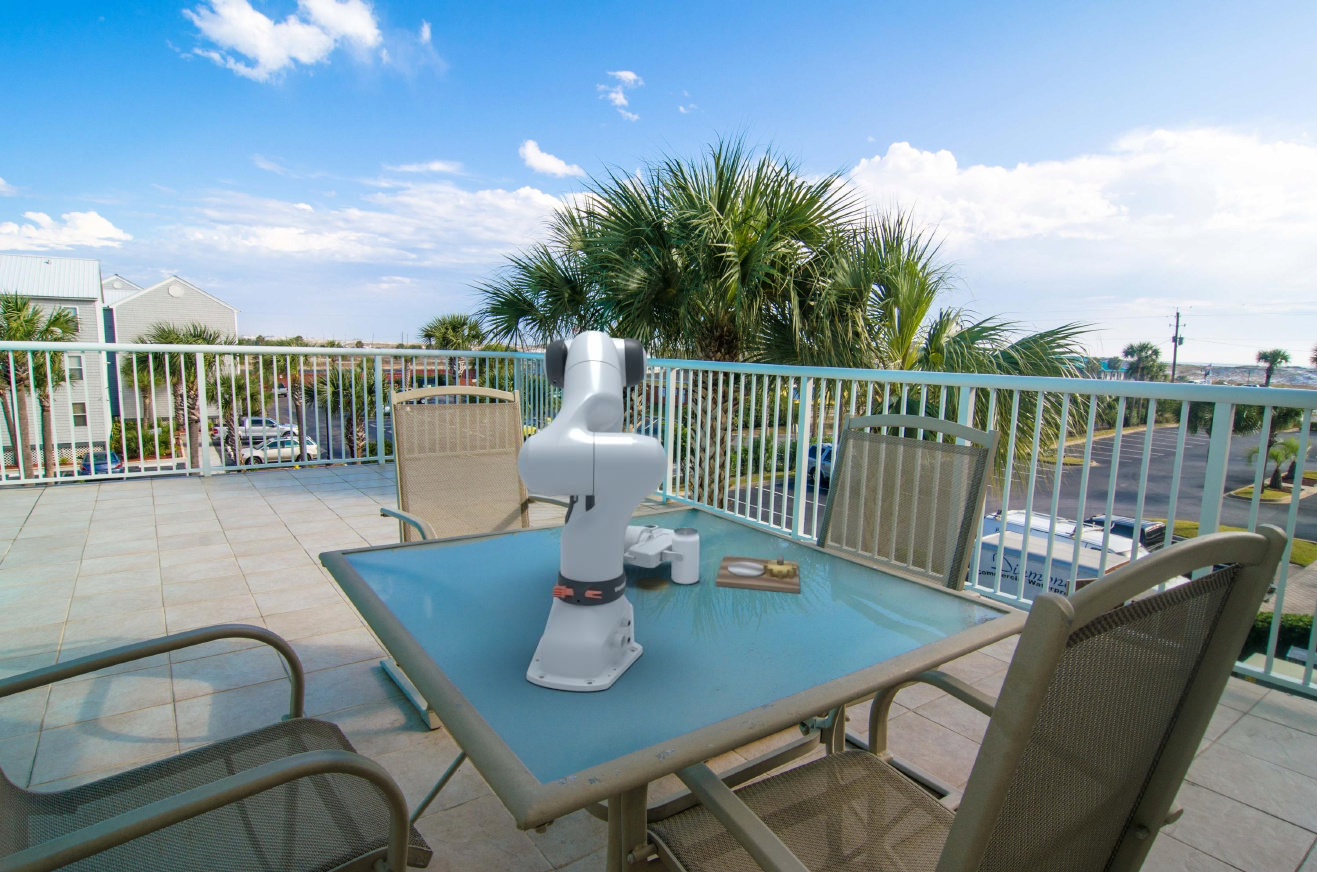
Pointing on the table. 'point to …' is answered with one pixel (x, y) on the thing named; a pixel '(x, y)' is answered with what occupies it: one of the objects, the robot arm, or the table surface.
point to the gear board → (759, 574)
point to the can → (685, 556)
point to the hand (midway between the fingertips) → (689, 553)
